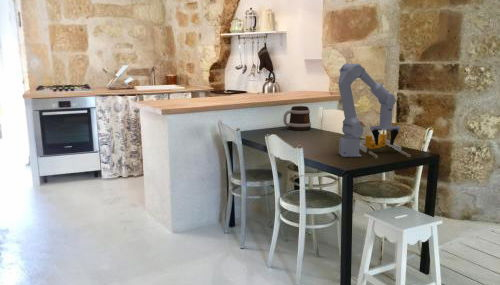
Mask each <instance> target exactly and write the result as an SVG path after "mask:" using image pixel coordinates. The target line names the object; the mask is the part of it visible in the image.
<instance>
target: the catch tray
mask: <svg viewBox="0 0 500 285" xmlns="http://www.w3.org/2000/svg"><path fill="white" fill-rule="evenodd" d="M373 141H374V142H375V139H374V138H373ZM365 142H366V139H360V147H359V150H361V151H362V152H363V153H367V152H368V148H367V147H365ZM386 146H388V147H389V148H391V147H392V149H393V148H394V150H395V151H397V152H399V153H400V151H402V146H401V145H399V144H396V143H395V142H394V143H393V145H391V144H390V140H388V139H386Z"/></svg>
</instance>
